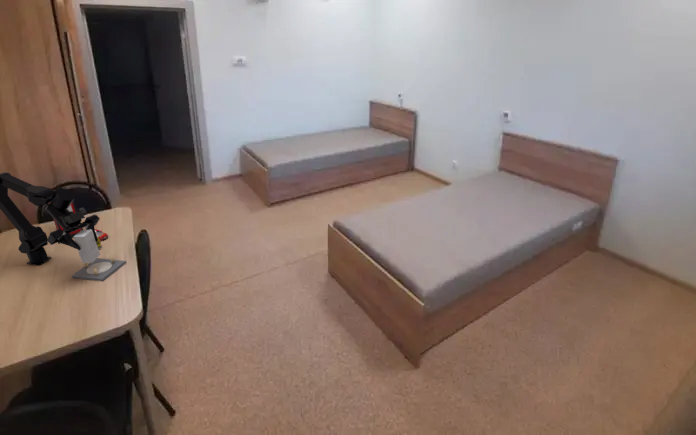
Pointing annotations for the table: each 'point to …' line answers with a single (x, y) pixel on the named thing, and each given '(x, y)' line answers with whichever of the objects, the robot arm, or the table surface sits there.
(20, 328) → the table surface
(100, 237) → the race car
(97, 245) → the supplement bottle
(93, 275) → the pin cradle
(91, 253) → the skincare box
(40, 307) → the table surface
